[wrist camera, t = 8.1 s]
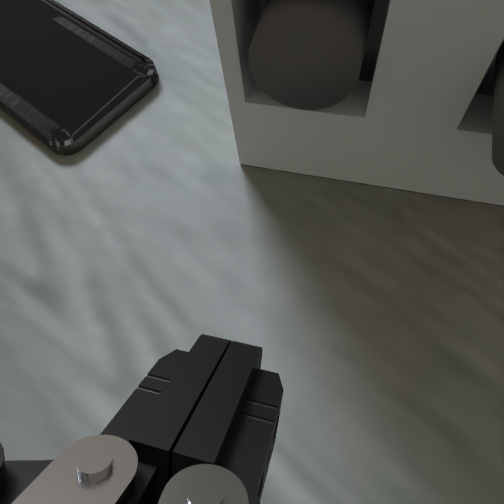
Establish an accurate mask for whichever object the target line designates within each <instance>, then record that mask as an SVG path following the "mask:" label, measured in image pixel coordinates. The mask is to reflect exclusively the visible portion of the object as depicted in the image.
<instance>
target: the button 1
mask: <svg viewBox="0 0 504 504" xmlns="http://www.w3.org/2000/svg"><path fill="white" fill-rule="evenodd" d="M374 1H375V0H266V2H265V5H264V8H263V11H262V14H261V17H260V19H259V22H258V25H257V28H256V31H255V33H254V36H253V39H252V42H251V45H250V48H249V53H248V63H249V68H250V71H251V74H252V76H253V78H254V80H255V82H256V83H257V85H258V86H259V87H260V88H261V89H262V90H263V91H264V92H265V93H266V94H267V95H268V96H270V97H271V98H272V99H274V100H276V101H277V102H279V103H282V104H284V105H286V106H289V107H293V108H297V109H304V110H316V109H323V108H327V107H330V106H333V105H335V104H337V103H339V102H341V101H342V100H344V99H345V98H346V97H347V96H348V95H349V94H350V93H351V92H352V91H353V89H354V88H355V86H356V84H357V82H358V79H359V75H360V70H361V65H362V60H363V55H364V50H365V45H366V41H367V36H368V31H369V26H370V21H371V16H372V11H373V6H374Z"/></svg>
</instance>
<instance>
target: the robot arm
mask: <svg viewBox="0 0 504 504" xmlns="http://www.w3.org/2000/svg"><path fill="white" fill-rule="evenodd" d="M261 359H262V347H257V346H253V345H249V344H244V343H240V342H236V341H231V340H226V339H222V338H218V337H213V336H209V335H204V334H202V335H201V336H200V337H199V338H198V340H197V341H196V343H195V344H194V346H193V347H192V348H191V350H190V351H189V352H185V351H181V350H177V349H176V350H174V351H173V352H171V353H169V354H168V355H166V356H164V357H162V358H161V359H159V360H158V361H157V363H156V364H155V365H154V366H153V368H152V369H151V370H150V372H149V373H148V376H147V377H145V378H144V379H143V381H142V382H141V383H140V384H139V387H138V389H136V390H135V391H134V392H133V393H132V395H131V396H130V397H129V398H128V400H127V401H126V402H125V404H124V405H123V406H122V407H121V409H120V410H119V411H118V413H117V414H116V415H115V416H114V418H113V419H112V420H111V421H110V423H109V424H108V425H107V427H106V428H105V429H104V430H103V432H102V433H101V434H100V435H95V436H90V437H86V438H83V439H81V440H78V441H76V442H74V443H73V444H71V445H70V446H68V447H67V448H65V449H64V450H63V451H62V452H61V453H60V454H59V455H58V456H57V457H56V458H55V459H54V460H40V461H5V457H4V450H3V447H2V445H1V443H0V504H260V499H261V495H262V491H263V487H264V483H265V479H266V475H267V471H268V467H269V463H270V459H271V455H272V451H273V447H274V443H275V439H276V432H277V426H278V420H279V414H280V408H281V402H282V396H283V387H282V384H281V380H280V377H279V374H278V373H274V372H270V371H265V370H261V369H260V367H261Z"/></svg>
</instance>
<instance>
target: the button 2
mask: <svg viewBox="0 0 504 504" xmlns="http://www.w3.org/2000/svg"><path fill="white" fill-rule="evenodd" d="M492 162H493V164H494V167H495V168H496V169H497V171H498V172H499V173H500V174H501V175H503V176H504V43H503V44H502V46H501V48H500V49H499V51H498V54H497V56H496V60H495V72H494V101H493V129H492Z"/></svg>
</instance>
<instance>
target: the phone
mask: <svg viewBox="0 0 504 504" xmlns="http://www.w3.org/2000/svg"><path fill="white" fill-rule="evenodd" d="M157 82H158V74H157V71H156V68H155V65H154V63H153V61H152V60H151V59H150V58H148V57H146V56H145V55H143V54H141V53H140V52H138V51H136V50H135V49H133V48H132V47H130V46H128V45H127V44H125V43H123V42H122V41H120V40H118V39H117V38H115V37H113V36H112V35H110V34H109V33H107V32H105V31H104V30H102V29H100V28H99V27H97V26H95V25H94V24H92V23H90V22H89V21H87V20H86V19H84V18H82V17H81V16H79V15H77V14H76V13H74V12H72V11H71V10H69V9H67V8H66V7H64V6H63V5H61V4H59V3H58V2H56V1H54V0H0V108H1V109H2V110H3V111H4V112H6V113H7V114H8V115H9V116H11V117H12V118H13V119H14V120H16V121H17V122H18V123H19V124H21V125H22V126H23V127H24V128H25V129H27V130H28V131H29V132H30V133H32V134H33V135H34V136H35V137H37V138H38V139H39V140H40V141H42V142H43V143H44V144H45V145H46V146H48V147H49V148H50V149H51V150H53V151H54V152H55V153H57V154H59V155H72V154H75V153H77V152H79V151H80V150H82V149H83V148H85V147H86V146H87V145H88V144H89V143H90V142H92V141H93V140H94V139H95V138H96V137H97V136H99V135H100V134H101V133H102V132H103V131H104V130H106V129H107V128H108V127H109V126H110V125H111V124H113V123H114V122H115V121H116V120H117V119H118V118H120V117H121V116H122V115H123V114H124V113H125V112H127V111H128V110H129V109H130V108H131V107H132V106H133V105H135V104H136V103H137V102H138V101H139V100H140V99H142V98H143V97H144V96H145V95H146V94H147V93H149V92H150V91H151V90H152V89H153V88H154V87H155V86H156V85H157Z"/></svg>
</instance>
